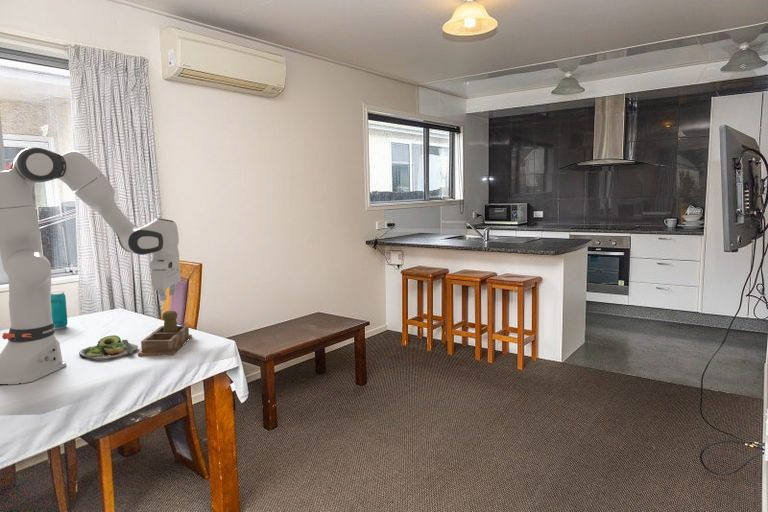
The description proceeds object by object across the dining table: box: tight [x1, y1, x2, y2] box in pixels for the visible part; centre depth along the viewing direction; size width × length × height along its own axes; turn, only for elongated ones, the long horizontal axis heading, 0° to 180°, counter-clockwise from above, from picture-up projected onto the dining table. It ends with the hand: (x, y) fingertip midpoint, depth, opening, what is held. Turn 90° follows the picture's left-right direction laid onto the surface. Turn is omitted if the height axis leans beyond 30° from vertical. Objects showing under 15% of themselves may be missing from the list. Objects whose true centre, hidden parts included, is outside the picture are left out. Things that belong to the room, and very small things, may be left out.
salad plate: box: [78, 335, 139, 361], centre depth 178 cm, size 19×18×5 cm
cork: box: [162, 310, 178, 333], centre depth 190 cm, size 6×6×11 cm
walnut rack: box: [137, 325, 193, 357], centre depth 186 cm, size 22×12×5 cm, turn 4°
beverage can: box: [51, 291, 69, 330], centre depth 208 cm, size 6×6×15 cm
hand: (168, 297), depth 188 cm, fingers open, 8 cm apart
